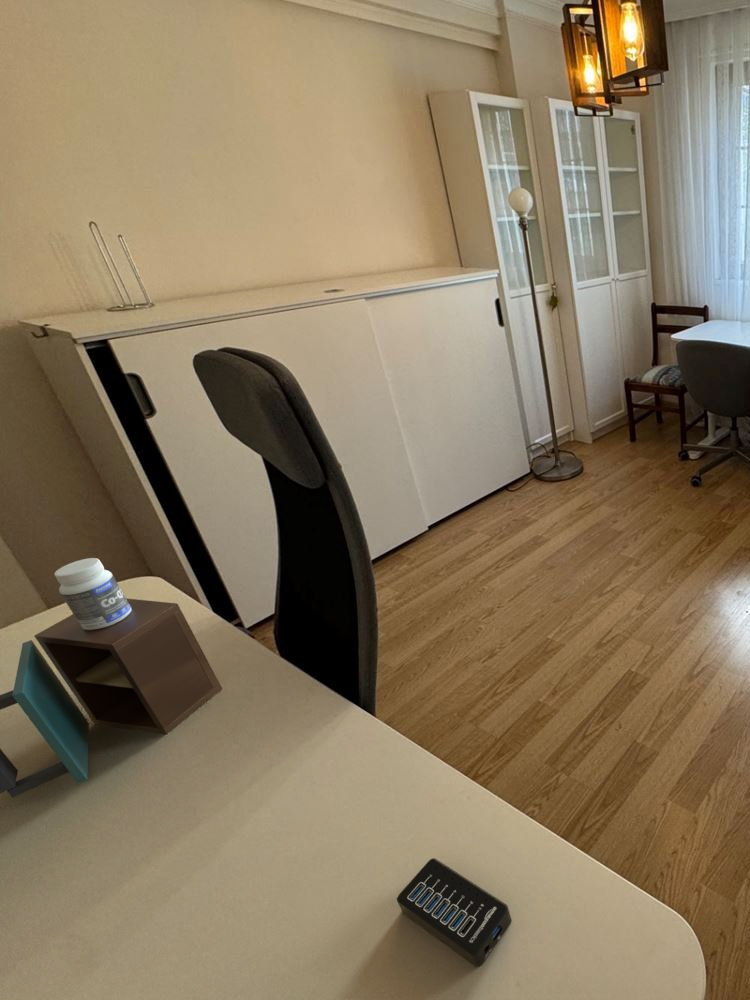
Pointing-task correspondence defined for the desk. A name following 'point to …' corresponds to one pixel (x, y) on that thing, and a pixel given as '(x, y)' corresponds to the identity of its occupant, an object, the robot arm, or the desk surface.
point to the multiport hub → (455, 911)
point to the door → (46, 723)
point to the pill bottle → (92, 594)
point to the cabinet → (134, 667)
